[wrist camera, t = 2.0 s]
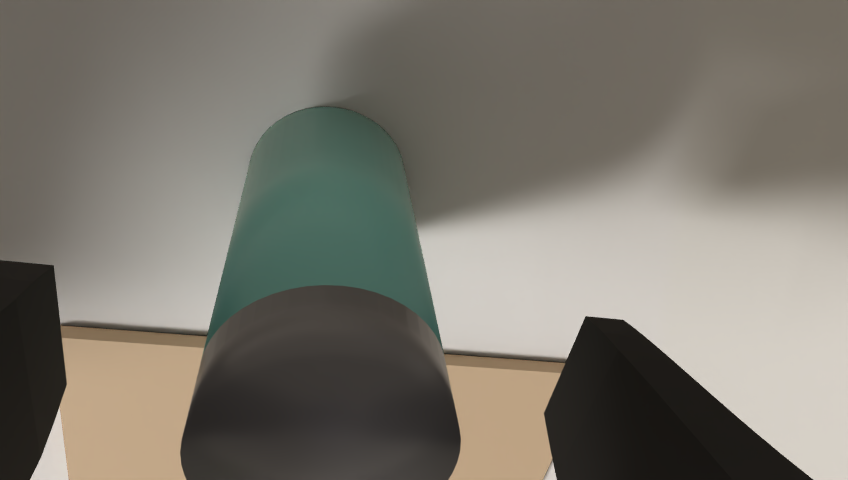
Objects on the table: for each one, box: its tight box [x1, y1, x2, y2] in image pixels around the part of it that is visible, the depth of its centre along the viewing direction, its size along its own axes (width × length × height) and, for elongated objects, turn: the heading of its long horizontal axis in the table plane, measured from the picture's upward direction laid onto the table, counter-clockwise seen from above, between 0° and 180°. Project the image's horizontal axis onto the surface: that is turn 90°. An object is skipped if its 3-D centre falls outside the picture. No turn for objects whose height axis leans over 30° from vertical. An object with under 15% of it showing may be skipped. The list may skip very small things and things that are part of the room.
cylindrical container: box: [180, 107, 461, 480], centre depth 10 cm, size 3×3×7 cm
